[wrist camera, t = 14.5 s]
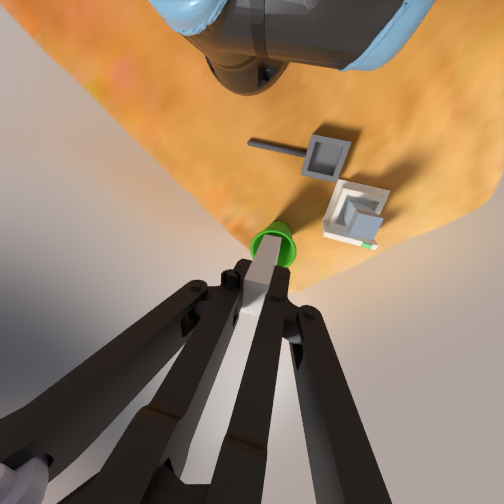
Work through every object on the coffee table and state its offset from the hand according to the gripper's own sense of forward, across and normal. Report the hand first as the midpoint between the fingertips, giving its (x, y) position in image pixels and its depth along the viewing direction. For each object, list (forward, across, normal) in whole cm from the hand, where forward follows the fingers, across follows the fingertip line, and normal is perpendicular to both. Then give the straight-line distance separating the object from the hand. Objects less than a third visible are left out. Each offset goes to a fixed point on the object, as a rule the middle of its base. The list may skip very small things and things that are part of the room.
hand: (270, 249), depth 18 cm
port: (+30, +13, -3) cm, 33 cm away
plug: (+29, +13, -3) cm, 32 cm away
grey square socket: (+30, +5, +6) cm, 31 cm away
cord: (+30, -5, +6) cm, 31 cm away
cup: (+30, -1, -11) cm, 32 cm away
